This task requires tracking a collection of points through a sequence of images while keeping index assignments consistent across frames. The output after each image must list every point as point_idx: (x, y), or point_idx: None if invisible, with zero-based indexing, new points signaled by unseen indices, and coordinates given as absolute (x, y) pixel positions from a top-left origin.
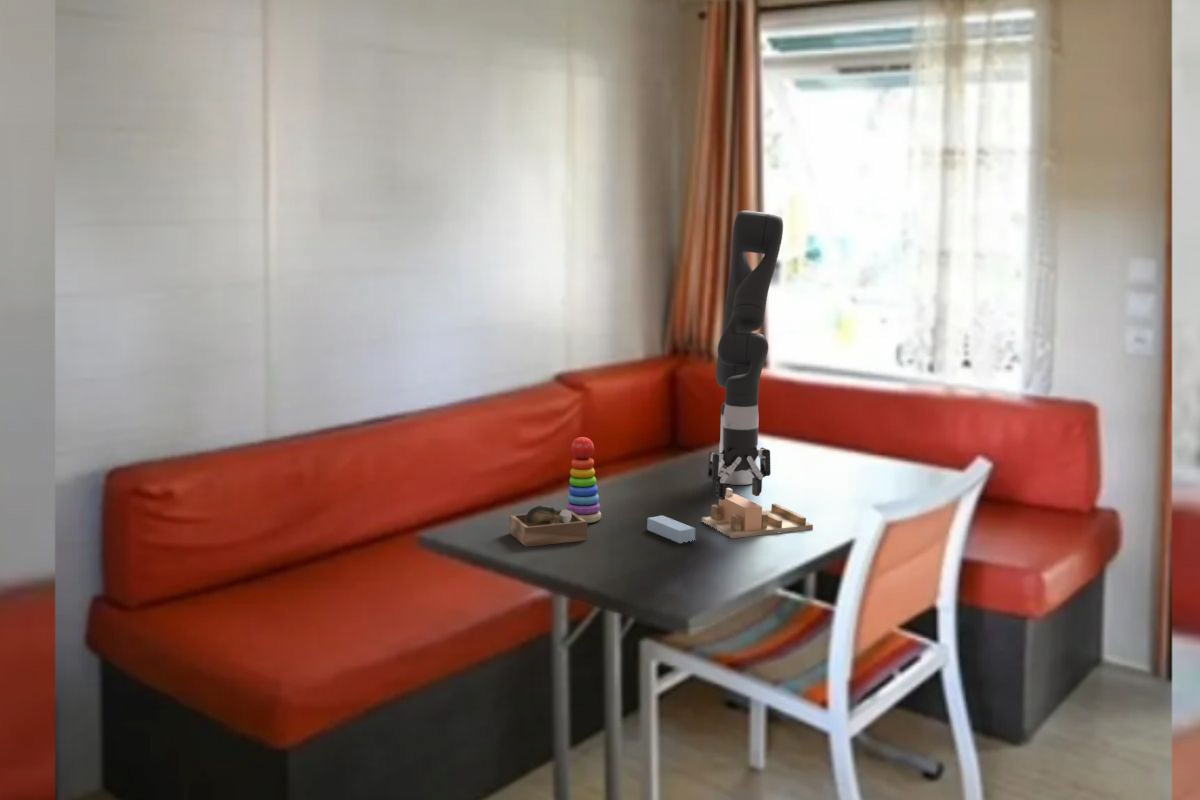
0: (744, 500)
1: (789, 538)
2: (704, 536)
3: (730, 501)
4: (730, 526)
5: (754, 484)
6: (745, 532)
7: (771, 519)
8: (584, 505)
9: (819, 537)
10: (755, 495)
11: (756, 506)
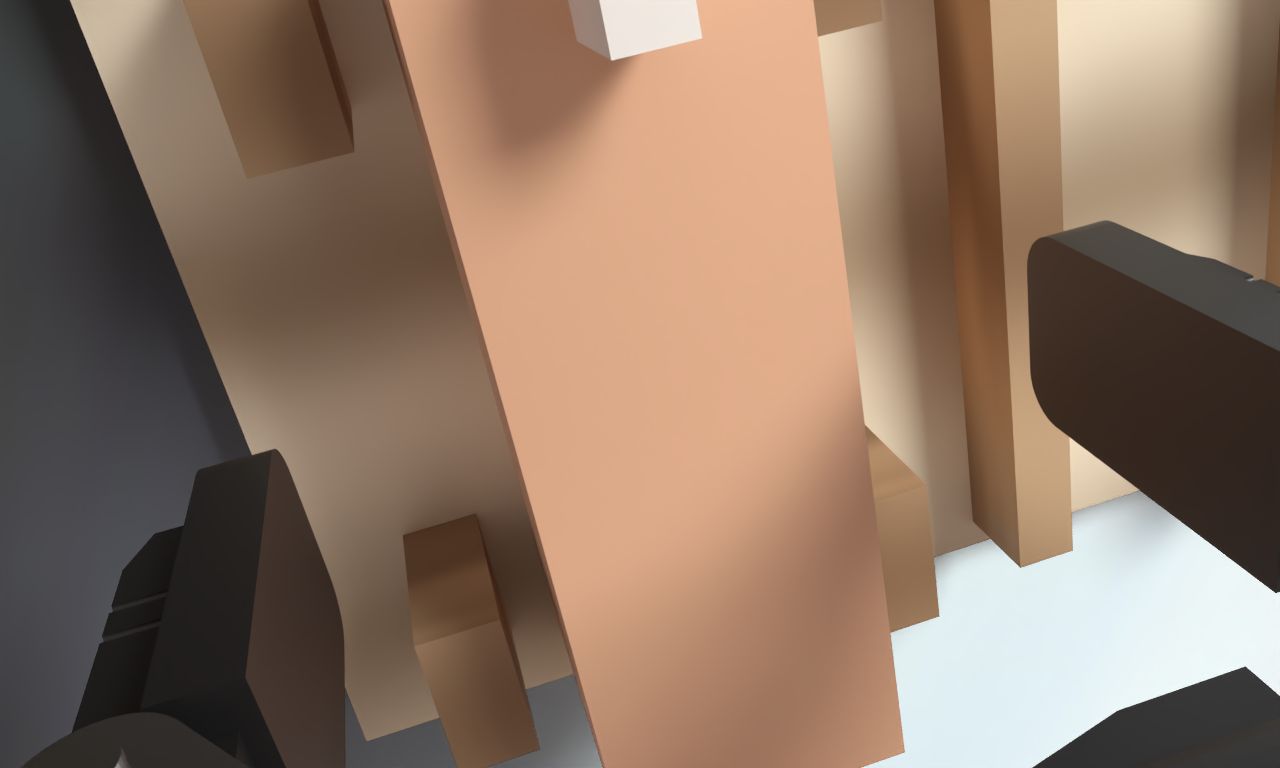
0: (777, 395)
1: (964, 682)
2: (11, 629)
3: (501, 395)
4: (422, 441)
5: (1178, 407)
6: (549, 679)
7: (999, 413)
8: None
9: (1227, 648)
10: (1034, 365)
11: (826, 753)
